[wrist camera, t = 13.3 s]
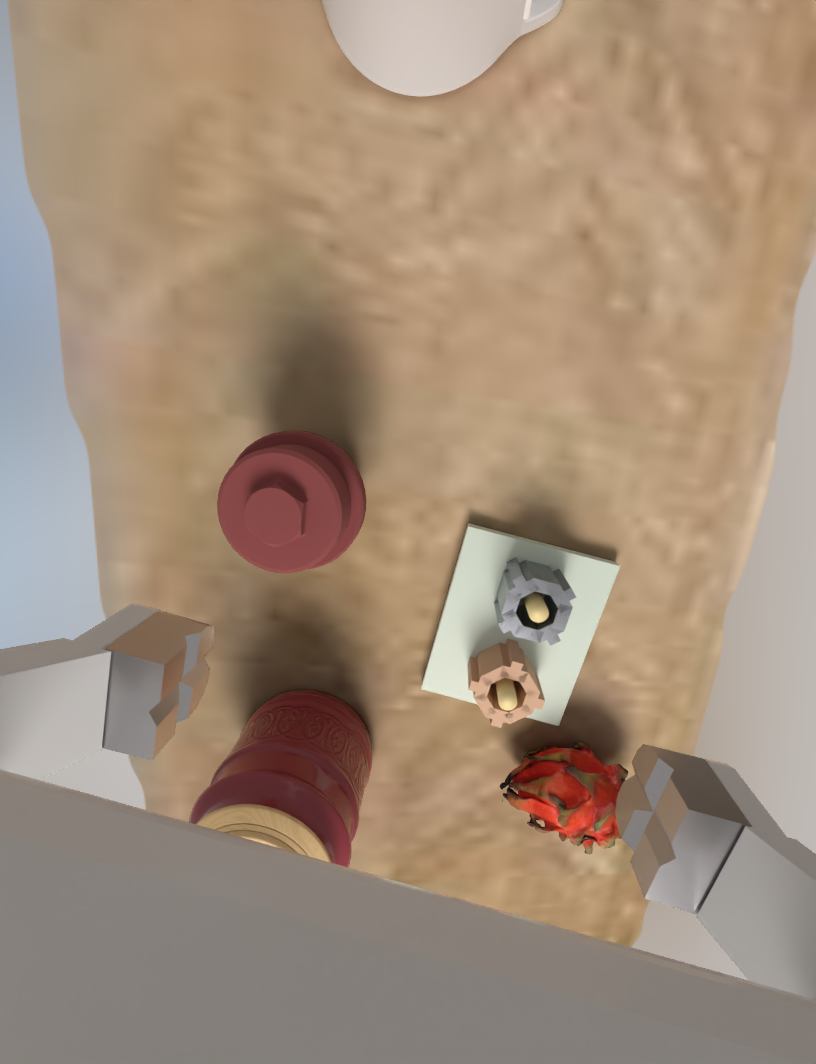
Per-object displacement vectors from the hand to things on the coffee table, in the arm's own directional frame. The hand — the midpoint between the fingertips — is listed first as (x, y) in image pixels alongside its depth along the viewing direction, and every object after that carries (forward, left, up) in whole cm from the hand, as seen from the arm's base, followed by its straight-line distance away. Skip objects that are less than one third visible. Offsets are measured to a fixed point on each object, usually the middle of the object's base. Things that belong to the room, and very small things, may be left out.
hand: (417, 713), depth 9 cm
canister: (+30, -6, -34) cm, 46 cm away
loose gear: (+8, +9, -33) cm, 35 cm away
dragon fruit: (+25, +18, -34) cm, 46 cm away
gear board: (+12, +9, -34) cm, 37 cm away
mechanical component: (+4, -10, -34) cm, 36 cm away
